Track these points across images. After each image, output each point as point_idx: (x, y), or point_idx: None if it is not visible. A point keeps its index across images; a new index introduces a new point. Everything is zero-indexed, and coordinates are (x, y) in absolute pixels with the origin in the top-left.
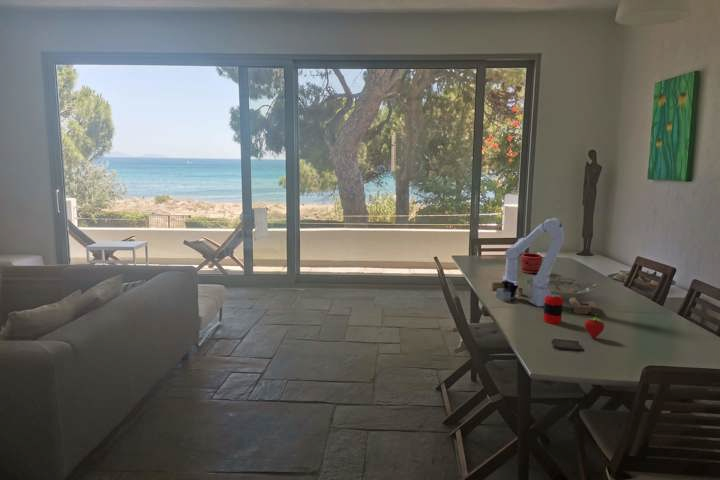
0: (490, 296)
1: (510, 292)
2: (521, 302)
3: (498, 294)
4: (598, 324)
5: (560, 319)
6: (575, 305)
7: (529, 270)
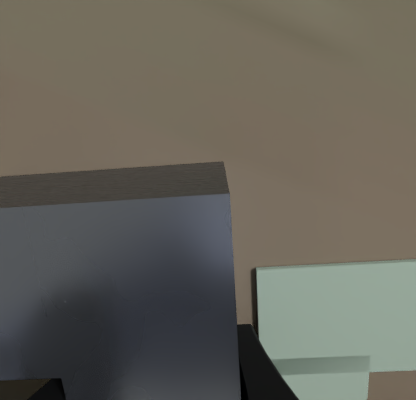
0: (300, 96)
1: None
2: (5, 385)
3: (136, 177)
4: None
5: None
6: None
7: None
